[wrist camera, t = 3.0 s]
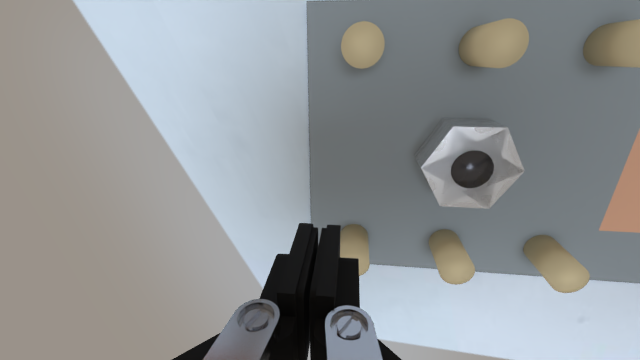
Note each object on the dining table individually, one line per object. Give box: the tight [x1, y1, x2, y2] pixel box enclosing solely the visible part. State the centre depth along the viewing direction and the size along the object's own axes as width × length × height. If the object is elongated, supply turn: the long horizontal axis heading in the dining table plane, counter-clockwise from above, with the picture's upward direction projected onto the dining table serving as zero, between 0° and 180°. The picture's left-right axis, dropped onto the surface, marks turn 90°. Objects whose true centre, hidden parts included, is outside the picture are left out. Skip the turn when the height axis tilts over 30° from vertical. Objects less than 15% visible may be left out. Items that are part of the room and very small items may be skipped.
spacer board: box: [307, 0, 640, 293], centre depth 21 cm, size 39×22×4 cm, turn 90°
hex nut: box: [414, 118, 524, 209], centre depth 22 cm, size 7×6×3 cm
